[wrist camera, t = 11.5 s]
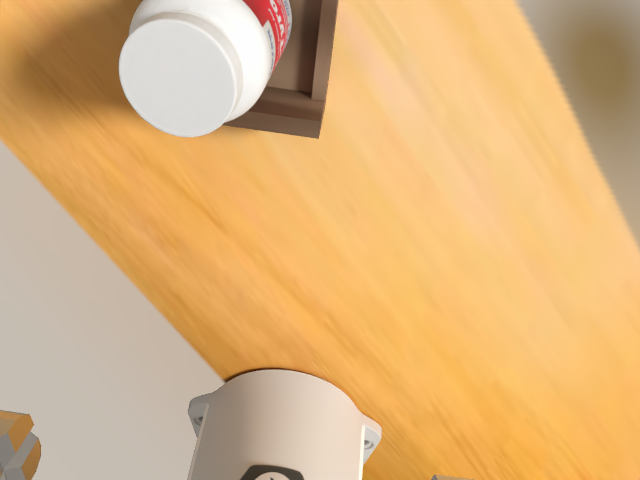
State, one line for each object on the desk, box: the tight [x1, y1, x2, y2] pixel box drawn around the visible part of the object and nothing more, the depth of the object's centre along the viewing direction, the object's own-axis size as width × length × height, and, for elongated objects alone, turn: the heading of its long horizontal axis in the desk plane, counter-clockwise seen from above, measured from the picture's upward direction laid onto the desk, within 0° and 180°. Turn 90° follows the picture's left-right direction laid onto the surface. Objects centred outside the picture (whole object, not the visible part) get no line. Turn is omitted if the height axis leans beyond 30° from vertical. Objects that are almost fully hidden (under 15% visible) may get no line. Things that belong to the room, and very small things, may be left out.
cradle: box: [222, 0, 338, 139], centre depth 28 cm, size 10×10×5 cm
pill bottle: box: [119, 0, 292, 137], centre depth 25 cm, size 6×6×11 cm
